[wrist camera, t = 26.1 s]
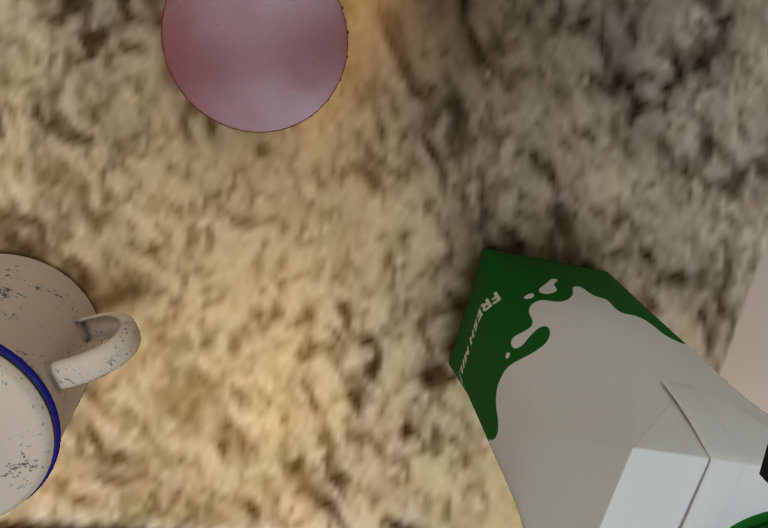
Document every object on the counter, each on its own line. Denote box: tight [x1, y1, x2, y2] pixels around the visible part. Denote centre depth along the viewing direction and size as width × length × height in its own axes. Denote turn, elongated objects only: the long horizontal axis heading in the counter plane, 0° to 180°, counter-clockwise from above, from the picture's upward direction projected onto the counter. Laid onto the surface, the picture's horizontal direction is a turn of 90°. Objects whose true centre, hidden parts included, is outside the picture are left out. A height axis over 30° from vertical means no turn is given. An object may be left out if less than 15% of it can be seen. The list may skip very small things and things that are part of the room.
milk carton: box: [449, 248, 768, 528], centre depth 30 cm, size 9×9×20 cm
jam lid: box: [161, 0, 349, 133], centre depth 31 cm, size 8×8×2 cm
